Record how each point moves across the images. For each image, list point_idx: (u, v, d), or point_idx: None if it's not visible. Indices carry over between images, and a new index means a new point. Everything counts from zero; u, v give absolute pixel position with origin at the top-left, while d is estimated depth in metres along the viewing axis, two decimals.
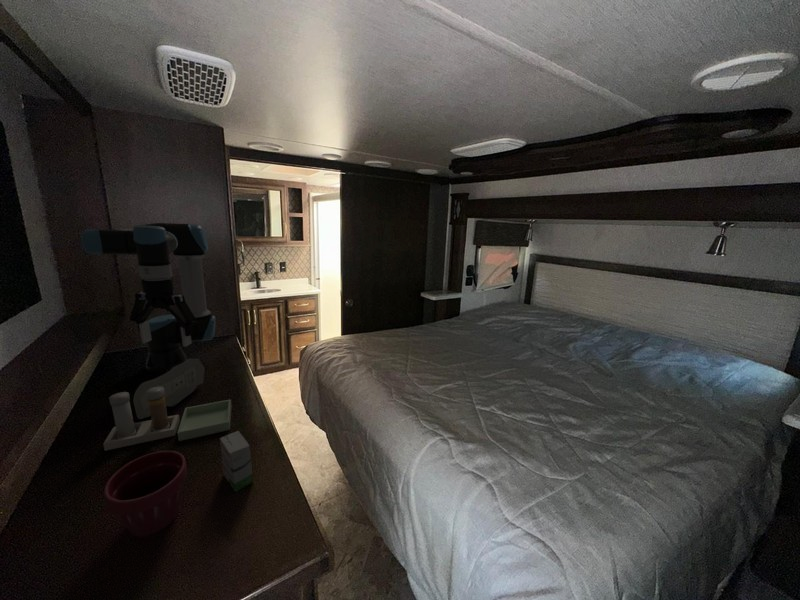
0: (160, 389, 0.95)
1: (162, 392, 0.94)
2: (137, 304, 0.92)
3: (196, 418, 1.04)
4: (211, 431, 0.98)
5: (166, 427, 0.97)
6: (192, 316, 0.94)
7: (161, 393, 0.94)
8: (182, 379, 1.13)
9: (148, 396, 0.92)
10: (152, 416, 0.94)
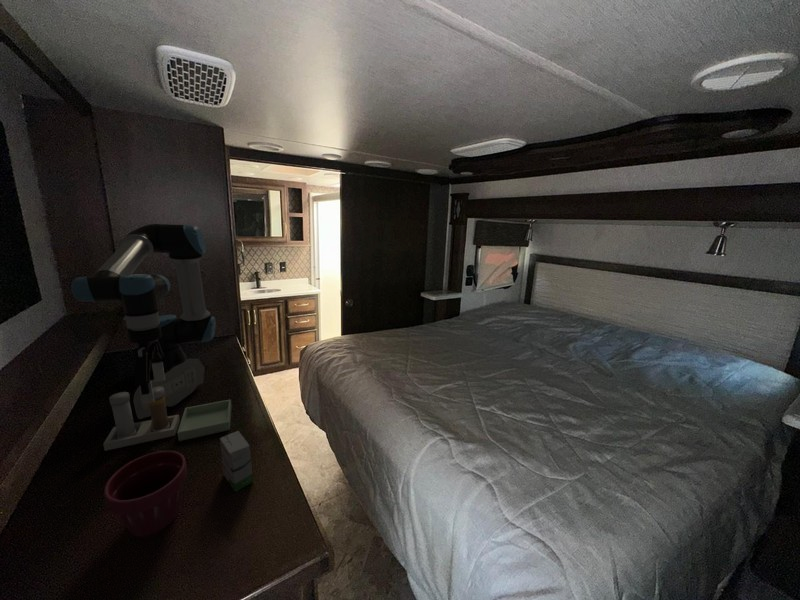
0: (160, 389, 0.95)
1: (162, 392, 0.94)
2: None
3: (196, 418, 1.04)
4: (211, 431, 0.98)
5: (166, 427, 0.97)
6: (143, 376, 0.84)
7: (161, 393, 0.94)
8: (182, 379, 1.13)
9: None
10: (152, 416, 0.94)
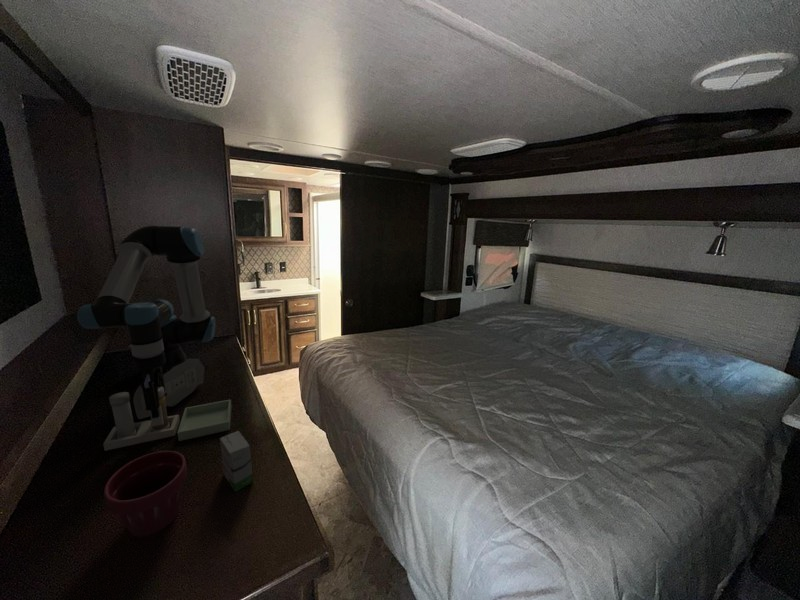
0: (160, 389, 0.95)
1: (162, 392, 0.94)
2: None
3: (196, 418, 1.04)
4: (211, 431, 0.98)
5: (166, 427, 0.97)
6: (152, 403, 0.90)
7: (161, 393, 0.94)
8: (182, 379, 1.13)
9: None
10: None
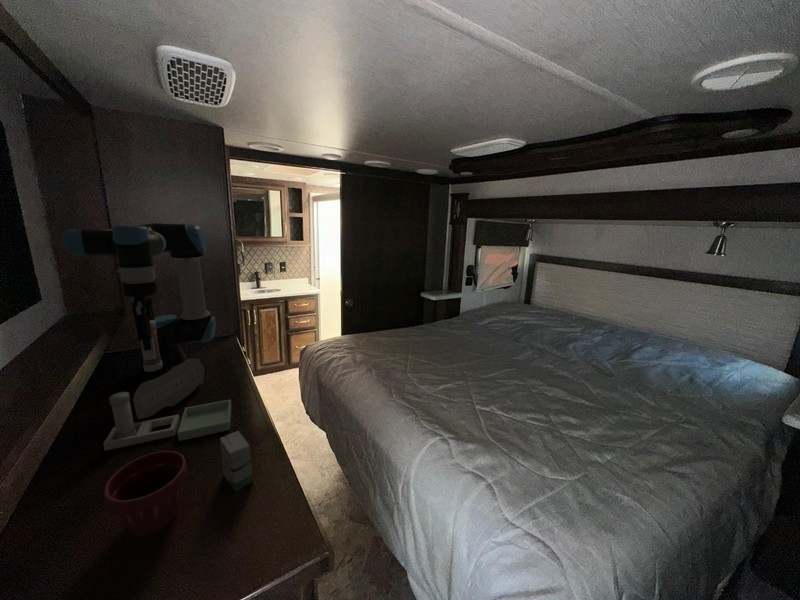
0: (152, 321, 0.89)
1: (154, 324, 0.89)
2: None
3: (196, 418, 1.04)
4: (211, 431, 0.98)
5: (158, 363, 0.92)
6: (145, 332, 0.85)
7: (153, 325, 0.89)
8: (182, 379, 1.13)
9: None
10: None
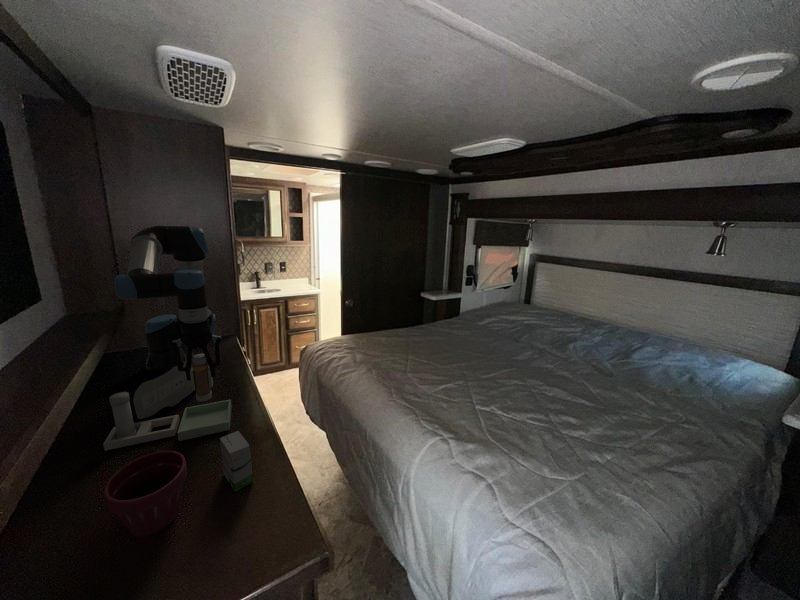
0: (200, 354, 0.98)
1: None
2: (178, 352, 0.93)
3: (196, 418, 1.04)
4: (211, 431, 0.98)
5: None
6: (220, 357, 1.00)
7: None
8: (182, 379, 1.13)
9: (205, 359, 0.97)
10: (206, 380, 0.98)
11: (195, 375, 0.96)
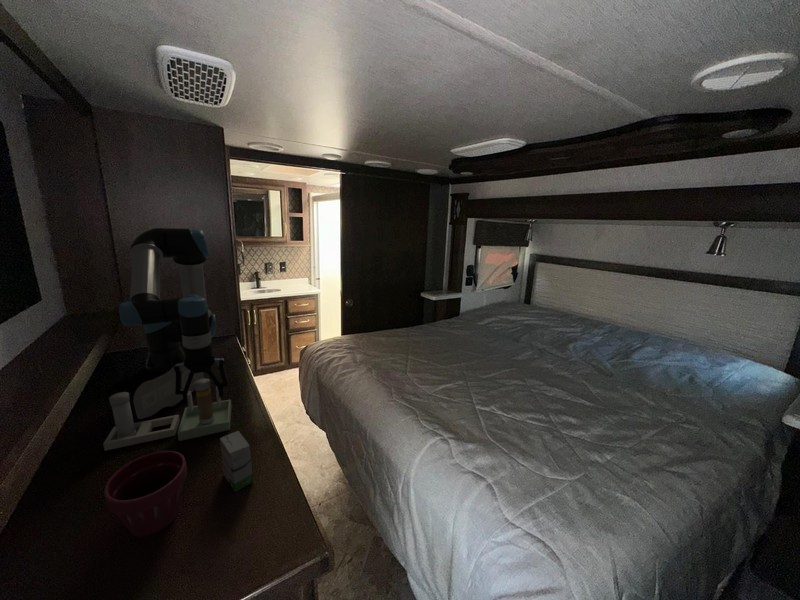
0: (202, 379, 1.00)
1: None
2: (179, 376, 0.95)
3: (196, 418, 1.04)
4: (211, 431, 0.98)
5: None
6: None
7: None
8: (182, 379, 1.13)
9: (208, 385, 0.99)
10: (209, 404, 1.01)
11: (198, 400, 0.99)
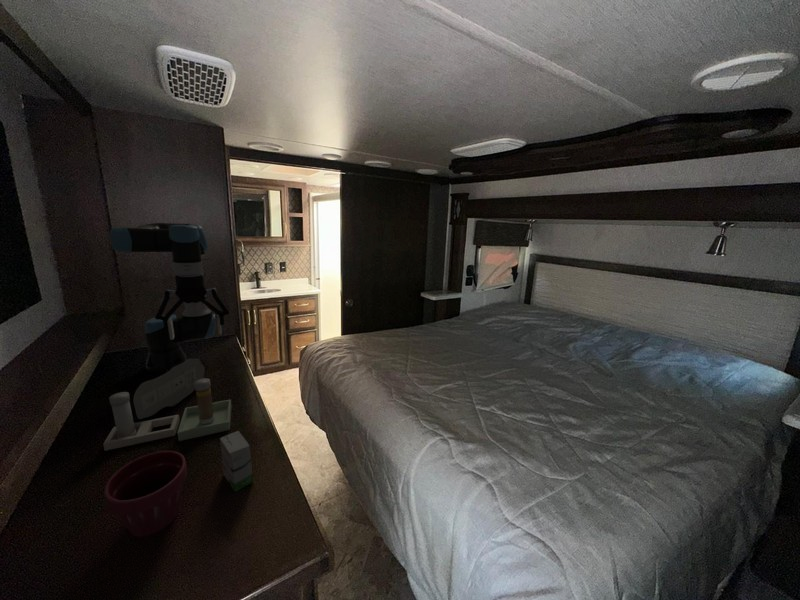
0: (203, 379, 1.00)
1: None
2: (166, 301, 0.94)
3: (196, 418, 1.04)
4: (211, 431, 0.98)
5: None
6: (226, 306, 1.04)
7: None
8: (182, 379, 1.13)
9: (208, 385, 0.99)
10: (209, 404, 1.01)
11: (198, 400, 0.99)
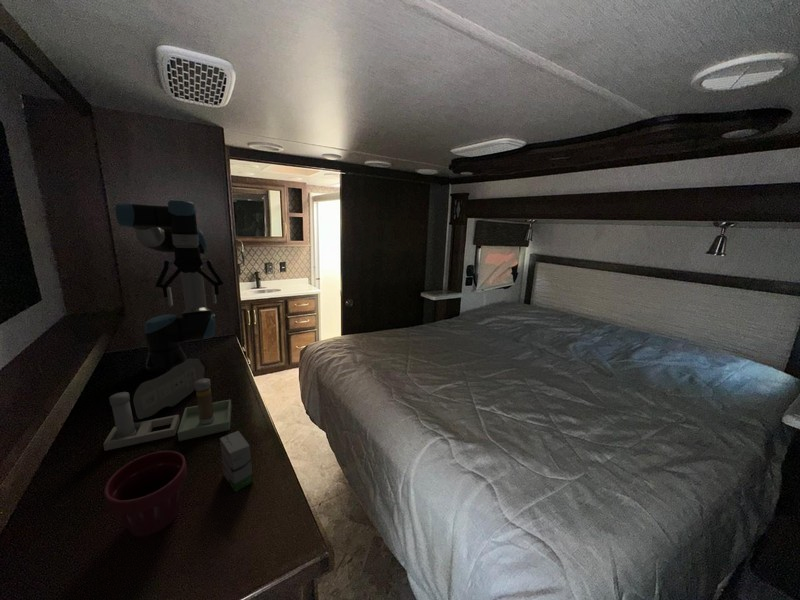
0: (203, 379, 1.00)
1: None
2: (165, 270, 1.04)
3: (196, 418, 1.04)
4: (211, 431, 0.98)
5: None
6: (220, 277, 1.13)
7: None
8: (182, 379, 1.13)
9: (208, 385, 0.99)
10: (209, 404, 1.01)
11: (198, 400, 0.99)
